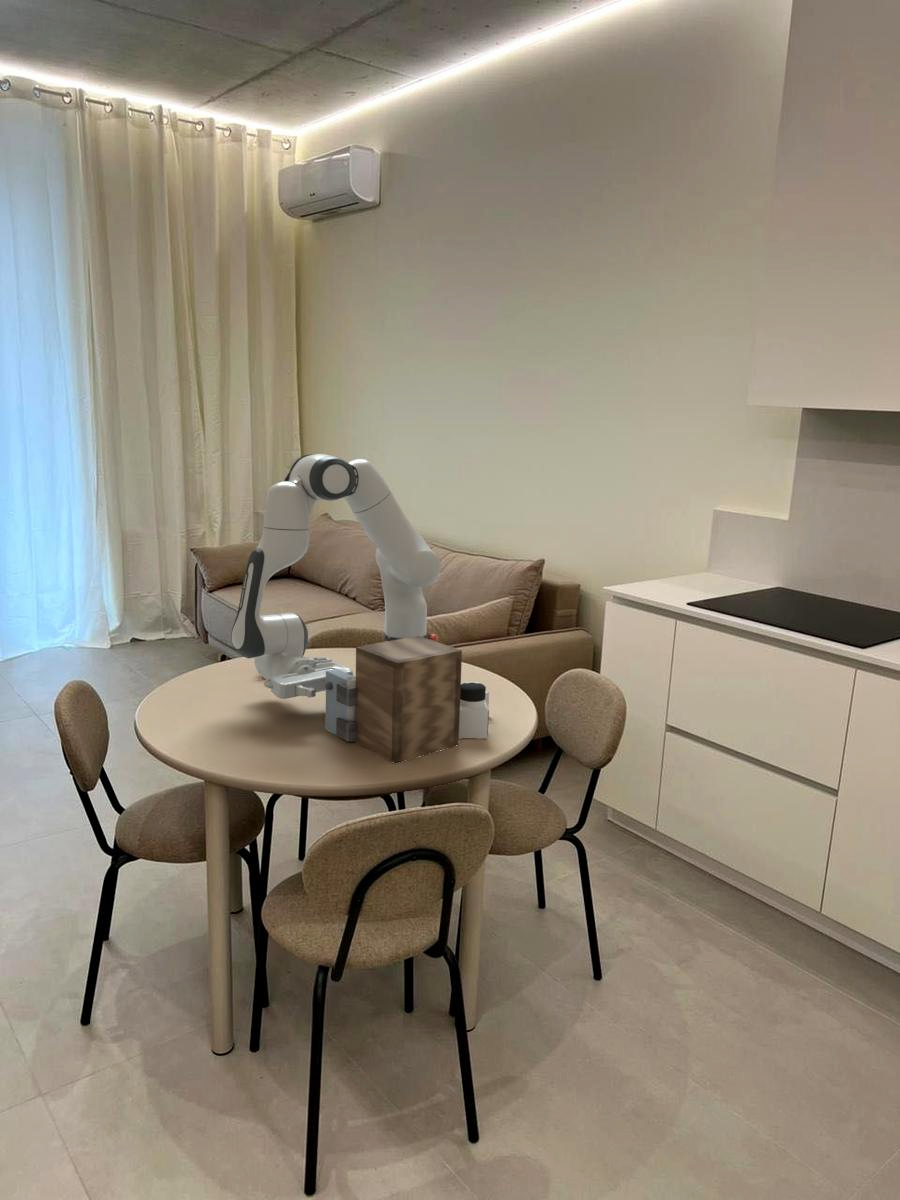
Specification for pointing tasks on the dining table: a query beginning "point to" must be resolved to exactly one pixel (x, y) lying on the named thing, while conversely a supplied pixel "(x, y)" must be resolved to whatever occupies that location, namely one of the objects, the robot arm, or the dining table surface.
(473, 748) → the dining table surface
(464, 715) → the medicine bottle
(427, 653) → the cabinet
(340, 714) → the door
